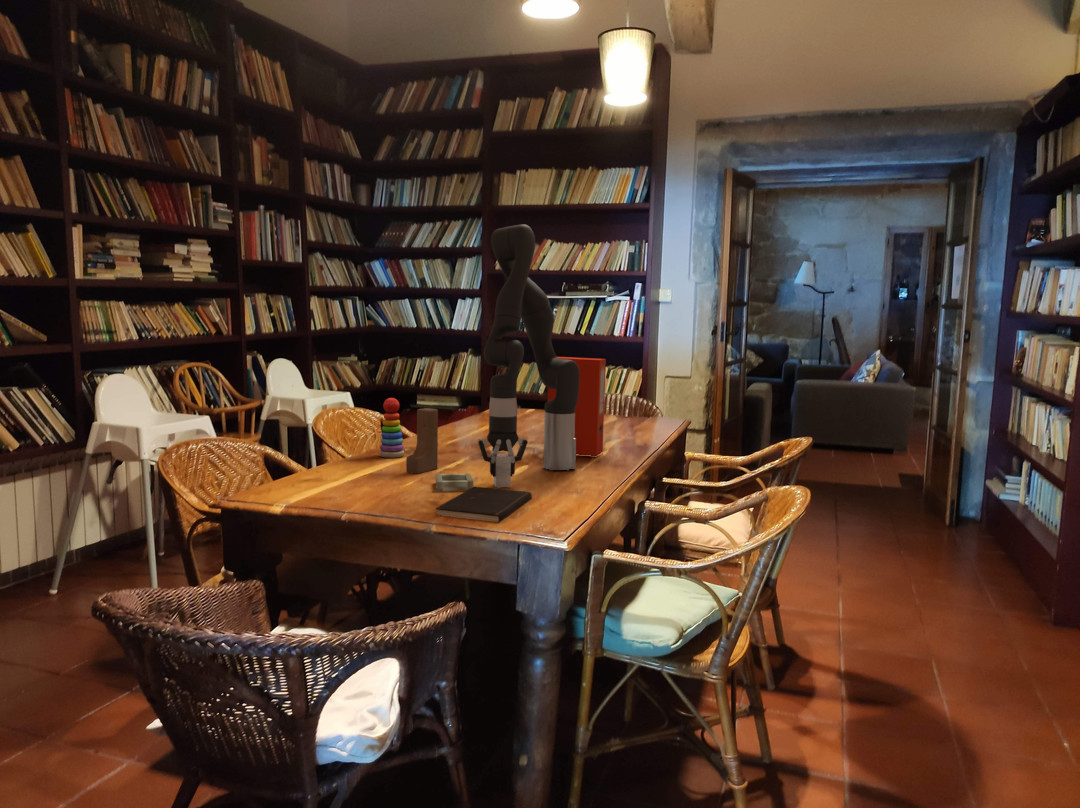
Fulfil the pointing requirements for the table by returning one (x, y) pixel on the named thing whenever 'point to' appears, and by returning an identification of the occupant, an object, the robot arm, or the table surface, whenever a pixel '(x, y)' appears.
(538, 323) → the robot arm
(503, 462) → the gray rectangular block
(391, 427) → the stacking toy
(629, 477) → the table surface
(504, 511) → the hardcover book
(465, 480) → the grey shallow square tray
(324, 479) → the table surface
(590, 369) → the file binder
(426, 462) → the wooden block
